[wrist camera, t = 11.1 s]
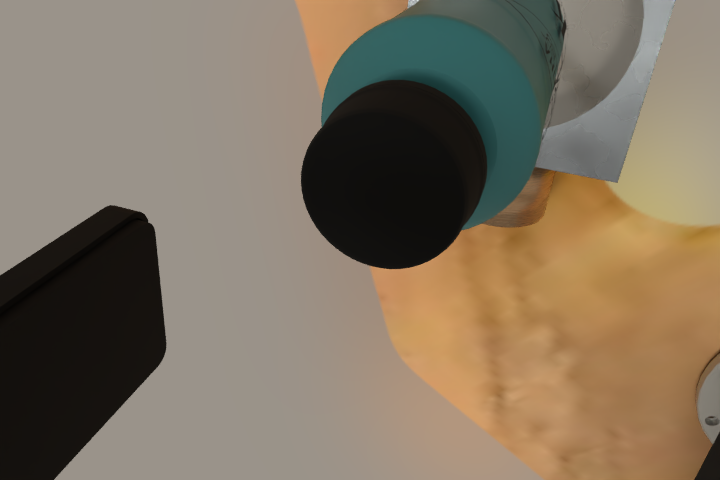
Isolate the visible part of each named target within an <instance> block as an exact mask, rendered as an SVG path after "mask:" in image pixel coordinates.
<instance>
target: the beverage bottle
mask: <svg viewBox="0 0 720 480" xmlns="http://www.w3.org/2000/svg"><path fill="white" fill-rule="evenodd" d="M559 1H560V0H559ZM561 3H562V2H561ZM561 3H560V4H561ZM560 4H559V2H558V0H419V1H418V2H417V3H416V4H414V5H412V6H411V7H410V8H408V9H407V10H404V11H403V12H402V13H400V14H399V15H397V16H396V17H394V18H392V19H391V20H388V21H386V22H384V23H381V24H379V25H377V26H375V27H374V28H372V29H371V30H369V31H367V32H366V33H364V34H363V35H362V36H361V37H359V38H358V39H357V40H356V41H355V42H354V43H353V44H351V45H350V46H349V48H348V49H347V50H346V51H345V52H344V53H343V55H342V56H341V57H340V59H339V60H338V62H337V63H336V65H335V66H334V69H333V71H332V73H331V75H330V77H329V79H328V82H327V86H326V89H325V92H324V98H323V103H322V116H321V122H322V128H321V129H320V130H319V131H318V133H317V134H316V135H315V137H314V138H313V140H312V141H311V143H310V145H309V147H308V149H307V152H306V155H305V158H304V161H303V166H302V171H301V186H302V194H303V199H304V202H305V205H306V208H307V211H308V213H309V215H310V217H311V219H312V221H313V222H314V224H315V226H316V227H317V229H318V230H319V231H320V233H321V234H322V235H323V236H324V237H325V238H326V239H327V240H328V241H329V242H330V243H331V244H332V245H333V246H334V247H335V248H337V249H338V250H339V251H341V252H342V253H344V254H345V255H347V256H349V257H350V258H352V259H354V260H356V261H359V262H361V263H364V264H367V265H370V266H374V267H379V268H386V269H403V268H410V267H413V266H417V265H420V264H423V263H425V262H428V261H430V260H431V259H433V258H435V257H437V256H438V255H439V254H441V253H442V252H443V251H444V250H446V249H447V248H448V247H449V246H450V245H451V244H452V243H453V242H454V240H455V239H456V237H457V236H458V235H459V233H460V231H461V230H465V229H468V228H471V227H474V226H476V225H479V224H481V223H483V222H485V221H487V220H489V219H491V218H493V217H494V216H495V215H497V214H498V213H500V212H501V211H502V210H504V209H505V208H506V207H507V206H508V205H509V204H510V203H511V202H513V201H514V200H515V198H516V197H517V196H518V195H519V194H520V192H521V191H522V190H523V188H524V187H525V185H526V183H527V182H528V180H529V179H530V176H531V174H532V172H533V170H534V168H535V165H536V162H537V158H538V155H539V151H540V148H541V147H540V146H541V139H542V140H543V137H545V136H544V134H543V137H542V133H543V129H544V127H545V126H544V125H545V124H546V123H545V121H546V116H547V112H548V107H549V105H550V104H549V103H551V102H550V99H551V96H552V92H553V90H554V87H555V85H556V83H557V82H558V81H560V80H559V79H560V78H559V79H558V77H559V75H558V77H557V80H558V81H557V80H556V74H558V73H557V70H558V66H559V61H560V57H562V55H561V53H563V52H562V50H563V44H564V36H565V31H566V29H567V30H568V28H567V27H566V21H567V20H566V21H565V19H564V20H563V15H562V12H561V9H560V7H561V6H562V5H561V6H560ZM564 10H565V9H564ZM564 14H566V13H564ZM564 18H566V16H565V17H564ZM567 24H568V23H567ZM565 50H566V45H565ZM565 53H566V51H565ZM564 57H565V56H564ZM561 61H562V62H561V63H562V65H563V60H562V59H561ZM562 65H561V68H562ZM560 71H562V69H560ZM559 74H560V72H559ZM560 76H561V75H560ZM557 88H558V85H557ZM557 88H556V87H555V93H556V94H557V92H556V90H558V89H557ZM552 98H553V97H552ZM552 100H553V99H551V101H552ZM554 103H555V98H554ZM553 109H554V108H553ZM553 109H552V110H553ZM552 110H551V113H550V115H552ZM551 117H552V116H551ZM548 119H549V118H548ZM547 122H548V121H547ZM549 124H551V122H550V121H549ZM549 124H548V126H547V127H549ZM547 130H548V129H547V128H546V130H545V131H547ZM544 133H545V132H544ZM545 134H546V133H545ZM546 137H547V136H546ZM545 139H546V138H545ZM544 141H545V140H544ZM543 143H544V142H543ZM542 145H543V144H542Z"/></svg>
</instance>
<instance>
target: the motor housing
mask: <svg viewBox="0 0 720 480" xmlns="http://www.w3.org/2000/svg"><path fill="white" fill-rule="evenodd" d="M418 1H419V0H408V8H410V7H411V6H412V5H414V4H416V3H417V2H418ZM675 1H676V0H560V1H559V0H558V2H559V4H560V3H561V2H562V3H561V4H560V6H561V5H562V6H561V7H560V9H561V12H562V15H563V20H564V19H565V21H566V20H567V21H566V27H567V28H568V30H567V29H566V31H565V36H564V44H563V50H562V52H563V53H561V55H562V57H560V61H559V66H558V70H557V73H558V74H556V80H557V77H558V75H559V77H558V79H559V78H560V79H559V80H560V81H558V80H557V81H558V82H557V83H556V85H555V87H556V88H557V85H558V88H557V89H558V90H556V92H557V94H556V93H555V87H554V90H553V92H552V96H551V99H553V100H552V101H551V99H550V102H551V103H549V104H550V105H549V107H548V112H547V116H546V121H545V123H546V124H545V125H544V126H545V127H544V129H543V133H542V137H543V134H544V136H545V137H543V140H542V139H541V146H540V147H541V148H540V151H539V155H538V158H537V162H536V165H535V168H534V170H533V172H532V174H531V176H530V179H529V180H528V182H527V183H526V185H525V187H524V188H523V190H522V191H521V192H520V194H519V195H518V196H517V197H516V198H515V200H514V201H513V202H511V203H510V204H509V205H508V206H507V207H506V208H505V209H504V210H502V211H501V212H500V213H498V214H497V215H495V216H494V217H493V218H491V219H489V220H487V221H485V222H483V223H482V224H486V225H491V226H498V227H522V226H528V225H531V224H534V223H536V222H538V221H539V220H540V219H541V218H542V217H543V216H544V213H545V209H546V205H547V201H548V197H549V193H550V190H551V186H552V182H553V178H554V174H555V171H559V172H564V173H569V174H575V175H580V176H585V177H590V178H595V179H601V180H606V181H611V182H618V179H619V176H620V173H621V170H622V167H623V164H624V161H625V158H626V154H627V151H628V148H629V145H630V142H631V139H632V135H633V132H634V129H635V126H636V123H637V120H638V117H639V113H640V110H641V107H642V104H643V101H644V98H645V95H646V92H647V88H648V85H649V82H650V79H651V76H652V73H653V70H654V66H655V63H656V60H657V57H658V54H659V51H660V48H661V45H662V41H663V38H664V35H665V32H666V29H667V26H668V23H669V19H670V16H671V13H672V10H673V7H674V3H675ZM564 9H565V10H564ZM564 13H566V14H564ZM565 16H566V18H564V17H565ZM567 23H568V24H567ZM565 45H566V50H565ZM565 51H566V53H565ZM564 56H565V57H564ZM561 59H562V60H563V65H562V63H561V62H562V61H561ZM561 65H562V68H561ZM560 69H562V71H560ZM559 72H560V74H559ZM560 75H561V76H560ZM552 97H553V98H552ZM554 98H555V103H554ZM553 108H554V109H553ZM552 109H553V110H552ZM551 110H552V115H550V113H551ZM551 116H552V117H551ZM548 118H549V119H548ZM547 121H548V122H547ZM549 121H550V122H551V124H549ZM548 124H549V127H547V126H548ZM546 128H547V129H548V130H547V131H545V130H546ZM544 132H545V133H546V134H545V133H544ZM546 136H547V137H546ZM545 138H546V139H545ZM544 140H545V141H544ZM543 142H544V143H543ZM542 144H543V145H542Z"/></svg>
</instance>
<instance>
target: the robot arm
mask: <svg viewBox="0 0 720 480" xmlns="http://www.w3.org/2000/svg"><path fill="white" fill-rule="evenodd" d="M165 351H166V336H165V326H164V316H163V306H162V296H161V286H160V276H159V266H158V256H157V246H156V236H155V230H154V227H153V225H152V224H150V223H148V219H147V217H146V216H145V214H143V213H142V212H138V211H134V210H130V209H126V208H122V207H118V206H111V205H110V206H107V207H105V208H104V209H102V210H100V211H99V212H97V213H96V214H94V215H93V216H91V217H90V218H88V219H86V220H85V221H83V222H82V223H80V224H79V225H77V226H76V227H74V228H72V229H71V230H70V231H68V232H67V233H65V234H64V235H62V236H60V237H59V238H57V239H56V240H54V241H53V242H51V243H49V244H48V245H46V246H45V247H43V248H42V249H40V250H39V251H37V252H36V253H34V254H33V255H31V256H30V257H28V258H26V259H25V260H23V261H22V262H20V263H19V264H17V265H16V266H14V267H13V268H11V269H10V270H8V271H7V272H5V273H3V274H2V275H0V480H54V479H55V478H56V477H57V476H58V474H59V473H60V472H61V471H62V470H63V469H64V468H65V467H66V465H68V464H69V462H70V461H71V460H72V459H73V458H74V457H75V456H76V455H77V454H78V452H80V450H81V449H82V448H83V447H84V446H85V445H86V444H87V443H88V442H89V441H90V440H91V438H92V437H93V436H94V435H95V434H96V433H97V432H98V431H99V430H100V429H101V428H102V427H103V425H104V424H105V423H106V422H107V421H108V420H109V419H110V418H111V417H112V416H113V415H114V414H115V412H116V411H117V410H118V409H119V408H120V407H121V406H122V405H123V404H124V402H125V401H126V400H127V399H128V398H129V397H130V396H131V395H132V394H133V393H134V392H135V391H136V390H137V388H138V387H139V386H140V385H141V384H142V383H143V382H144V381H145V380H146V379H147V377H149V375H150V374H151V373H152V372H153V371H154V370H155V369H156V368H157V367H158V366H159V364H160V363H161V361H162V359H163V357H164V355H165ZM696 407H697V413H698V419H699V421H700V424H701V427H702V429H703V431H704V433H705V434H706V436H707V437H708V439H709V440H710V442H711V443H712V444H713V445H712V447H711V449H710V451H709V453H708V455H707V457H706V459H705V461H704V462H703V464H702V466H701V468H700V470H699V472H698V474H697V476H696V478H695V480H720V353H719V354H718V355H717V356H716V357H715V358H714V359H713V360H712V361H711V362H710V363H709V364H708V366H707V367H706V369H705V371H704V372H703V374H702V375H701V377H700V380H699V383H698V386H697V389H696Z"/></svg>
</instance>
